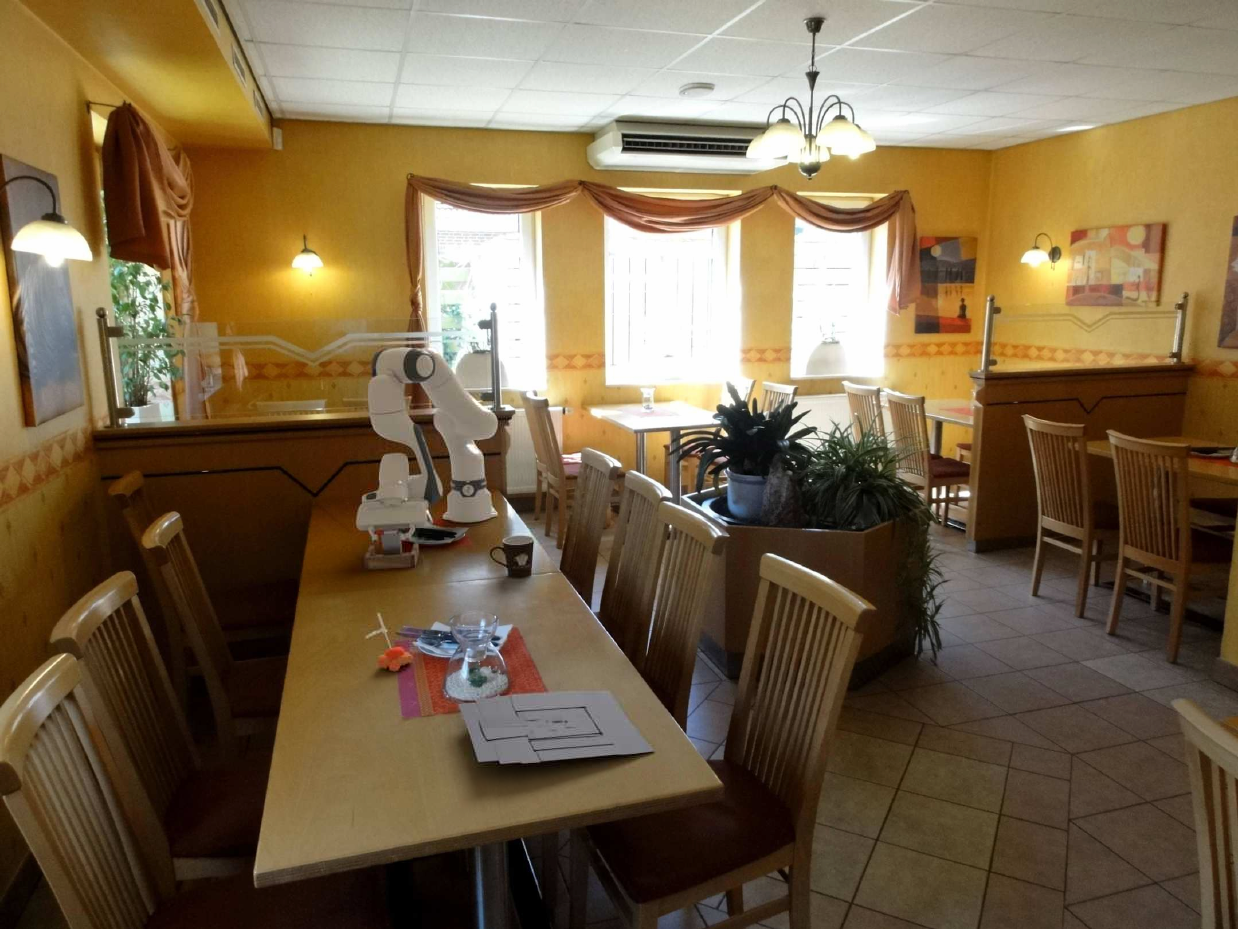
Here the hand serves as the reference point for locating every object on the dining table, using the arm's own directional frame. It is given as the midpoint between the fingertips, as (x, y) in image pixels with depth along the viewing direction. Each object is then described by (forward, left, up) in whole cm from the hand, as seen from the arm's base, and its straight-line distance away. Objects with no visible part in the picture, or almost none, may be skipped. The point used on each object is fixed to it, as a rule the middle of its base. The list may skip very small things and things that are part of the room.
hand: (391, 540), depth 244 cm
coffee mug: (+18, +35, -7) cm, 40 cm away
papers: (+105, +40, -7) cm, 112 cm away
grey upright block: (0, 0, -6) cm, 6 cm away
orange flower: (+72, +8, -7) cm, 72 cm away
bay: (0, 0, -6) cm, 6 cm away
